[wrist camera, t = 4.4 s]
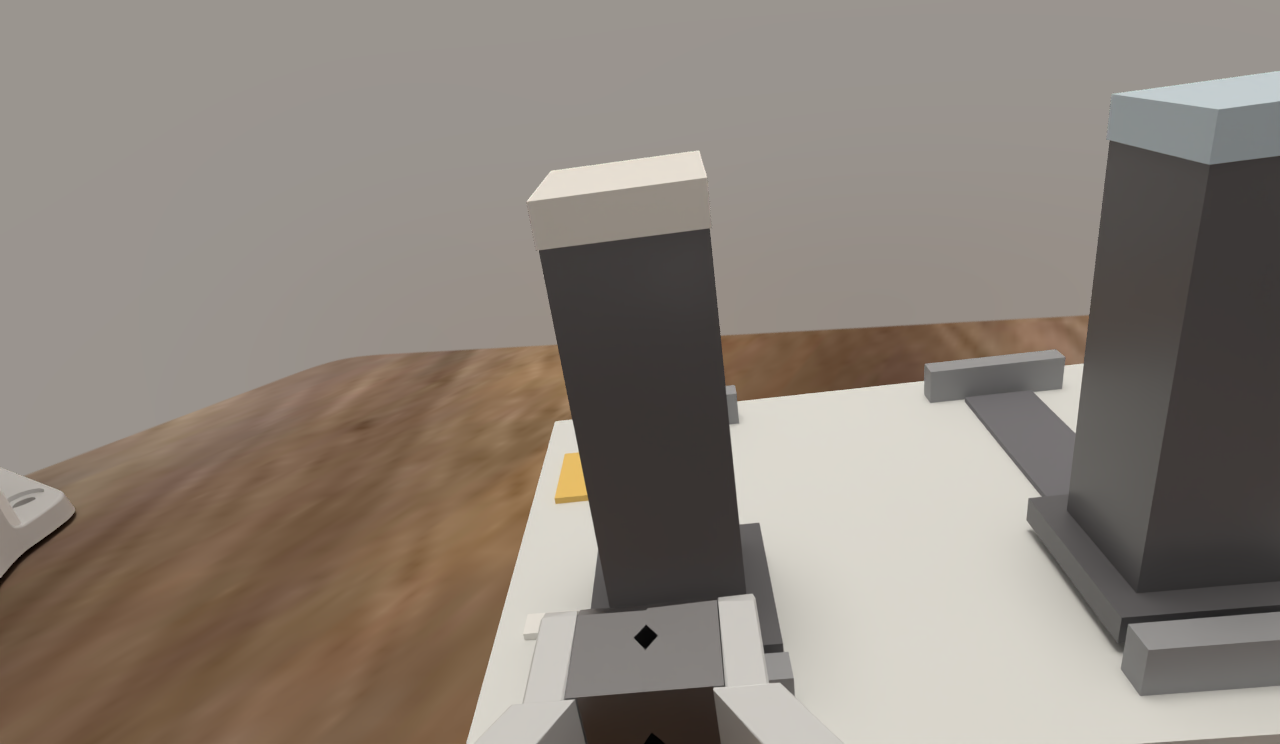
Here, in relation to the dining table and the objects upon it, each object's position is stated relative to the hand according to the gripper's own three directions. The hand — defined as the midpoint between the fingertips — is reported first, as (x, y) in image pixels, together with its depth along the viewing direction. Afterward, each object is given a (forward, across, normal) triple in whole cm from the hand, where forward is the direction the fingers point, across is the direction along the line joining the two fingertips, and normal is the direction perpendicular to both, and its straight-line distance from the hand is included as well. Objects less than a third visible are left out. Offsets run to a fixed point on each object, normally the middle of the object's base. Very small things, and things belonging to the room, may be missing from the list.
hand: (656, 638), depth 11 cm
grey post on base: (+9, 0, +7) cm, 11 cm away
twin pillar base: (+13, -6, +8) cm, 16 cm away
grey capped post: (+9, -13, +7) cm, 17 cm away
